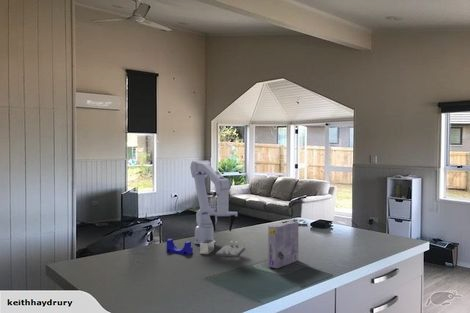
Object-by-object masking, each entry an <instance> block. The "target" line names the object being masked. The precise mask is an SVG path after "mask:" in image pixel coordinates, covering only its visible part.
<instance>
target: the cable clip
mask: <svg viewBox="0 0 470 313" xmlns="http://www.w3.org/2000/svg"><path fill="white" fill-rule="evenodd" d="M166 253H172V254H176V255H177V254H178V255H184V256H188V255H191V254H193V253H194V249H193V246H192V241H190V240H188V241H186V242H184V246H183V248H181V249H180V248H178V247H177V246H176V245H175V243H174V240H173V238H168V239H166Z"/></svg>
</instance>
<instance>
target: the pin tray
mask: <svg viewBox="0 0 470 313" xmlns="http://www.w3.org/2000/svg"><path fill="white" fill-rule="evenodd" d="M245 249H246V248H245V246H243V245H239V241H237V240H236V241H235V245H234V241H233V240H231V241H230V245H229V244H228V245H227V244H225V245H224V246H223V247H222V248H220V249H219V250H218V251H216V252H215V256H222V257H231V258H232V257H234V258H235V257H238V256H239V255H240V254H241V252H243V251H244V250H245Z"/></svg>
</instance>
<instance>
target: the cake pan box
mask: <svg viewBox="0 0 470 313" xmlns="http://www.w3.org/2000/svg"><path fill="white" fill-rule="evenodd" d="M267 230H268V231H267V232H268V233H267V234H268V240H267V241H268V246H267V252H268V254H267V255H268V257H267V258H268V263H267V264H268V267H270V268H272V269H275V270H277V269H279V268H282V267H285V266H288V265H291V264H292V263H296V262H297V261H299V221H287V222H283V223H277V224H274V225H269V226H268V228H267Z"/></svg>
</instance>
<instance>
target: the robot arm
mask: <svg viewBox="0 0 470 313" xmlns="http://www.w3.org/2000/svg"><path fill="white" fill-rule="evenodd" d="M189 167H190V173H191V177H192V178H193V179H194V183H195V184H194V185H195V189H196V195H197V200H198V205H199V209H198V210H197V211H196V214H195V217H196V219H195V221H196V224H197V226H196V227H195V229H194V243H193V244H195V245H200V243H201V242H203V241H205V240H206V239H209V240H214V232H216V224H217V222H218V217H229V226H228V227H229V228H228V229H229V232H232V228H233V224H234V223H235V220H236V217H238V211H229V195H230V194H229V192H230V190H231V188H232V182H231V180H230V178H228V177H227V178H225V177H224V176H223V175H222V174H221V173H220V171H219V170H214V168H213V167H212V163H211V161H210V160H208V159H207V160H192V161H191V163H190V166H189ZM208 176H209V180H210V182H212V183H213V185H214V190H215V194H216V211H215V209H214V208H212V207H210V202H209V198H208V193H207V187H206V182H205V179H206V178H207V177H208ZM215 243H217V241H216V240H214V244H215Z"/></svg>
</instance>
